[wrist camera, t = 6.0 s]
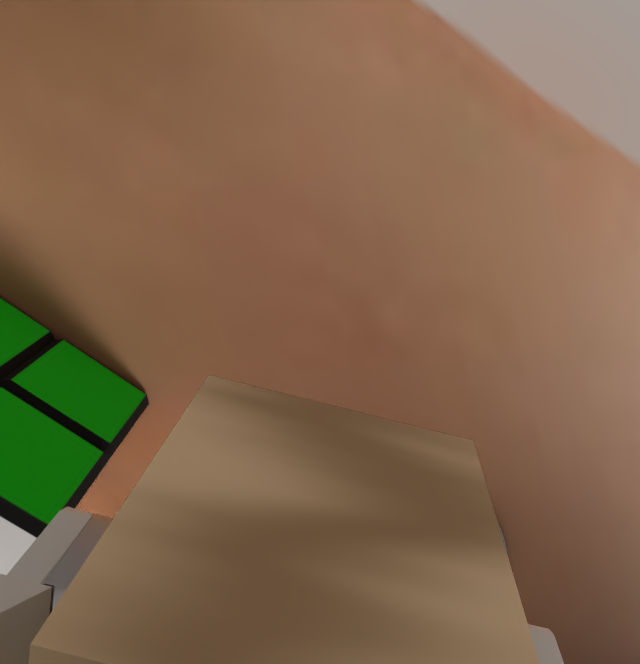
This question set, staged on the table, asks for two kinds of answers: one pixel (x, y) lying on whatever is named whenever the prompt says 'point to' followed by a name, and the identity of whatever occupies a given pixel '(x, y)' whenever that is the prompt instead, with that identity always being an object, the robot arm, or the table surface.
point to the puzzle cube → (52, 427)
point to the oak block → (295, 547)
